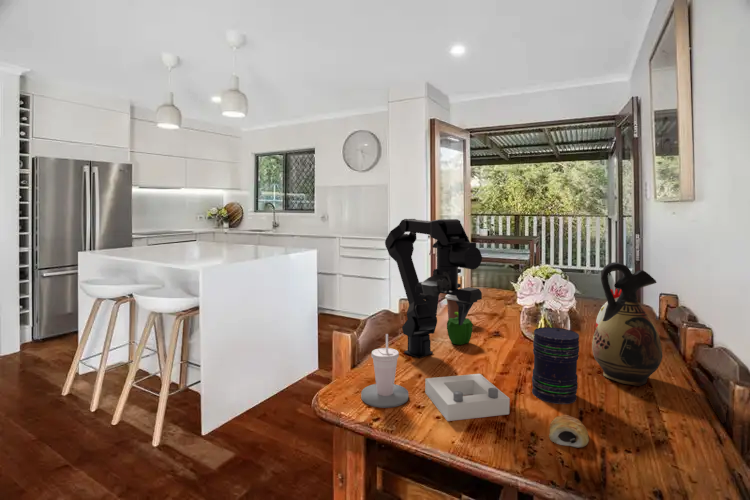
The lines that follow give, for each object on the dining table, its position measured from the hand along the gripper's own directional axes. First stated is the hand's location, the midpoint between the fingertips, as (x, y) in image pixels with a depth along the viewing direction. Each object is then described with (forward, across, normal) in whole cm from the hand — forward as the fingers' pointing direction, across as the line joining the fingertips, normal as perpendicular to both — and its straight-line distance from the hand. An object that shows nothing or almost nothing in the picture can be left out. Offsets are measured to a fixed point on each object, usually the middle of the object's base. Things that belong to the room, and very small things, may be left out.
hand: (446, 321), depth 114 cm
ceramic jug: (+13, +35, +28) cm, 47 cm away
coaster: (+13, +2, -25) cm, 29 cm away
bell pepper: (+13, -11, +21) cm, 27 cm away
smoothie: (+12, +2, -25) cm, 28 cm away
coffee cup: (+13, -28, +42) cm, 52 cm away
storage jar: (+13, +28, +5) cm, 31 cm away
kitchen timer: (+13, +18, +78) cm, 81 cm away
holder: (+13, +16, -14) cm, 25 cm away
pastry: (+14, +38, -11) cm, 42 cm away
